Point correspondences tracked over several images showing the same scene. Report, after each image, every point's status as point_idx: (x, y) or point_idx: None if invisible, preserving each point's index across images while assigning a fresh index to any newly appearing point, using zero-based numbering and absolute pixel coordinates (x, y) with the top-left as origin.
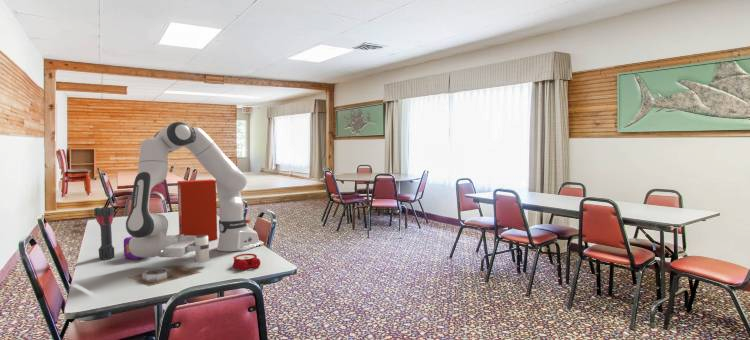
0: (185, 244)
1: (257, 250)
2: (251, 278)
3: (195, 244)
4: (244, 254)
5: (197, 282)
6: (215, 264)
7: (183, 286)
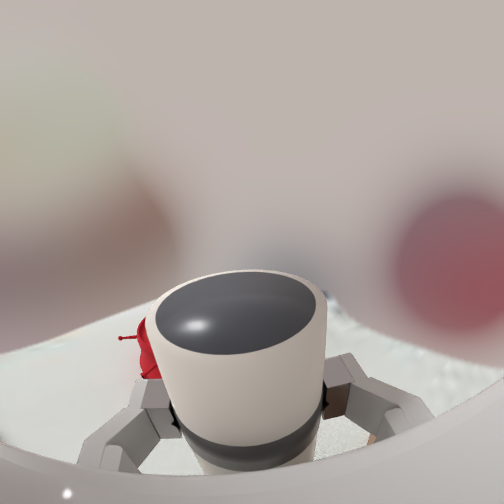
0: (446, 434)
1: (3, 367)
2: (329, 296)
3: (308, 413)
4: (141, 337)
5: (448, 376)
6: (162, 470)
7: (498, 377)
